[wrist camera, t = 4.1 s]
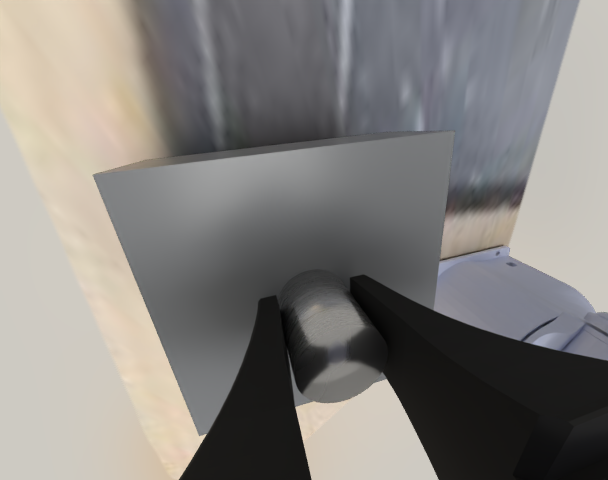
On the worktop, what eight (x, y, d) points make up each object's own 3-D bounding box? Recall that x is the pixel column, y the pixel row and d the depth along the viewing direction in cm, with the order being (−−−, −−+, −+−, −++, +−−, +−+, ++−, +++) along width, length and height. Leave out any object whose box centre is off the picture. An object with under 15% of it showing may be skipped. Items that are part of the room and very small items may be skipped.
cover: (386, 131, 14) (559, 128, 7) (382, 312, 19) (479, 430, 11) (145, 160, 12) (-9, 202, 4) (208, 356, 17) (187, 538, 9)
